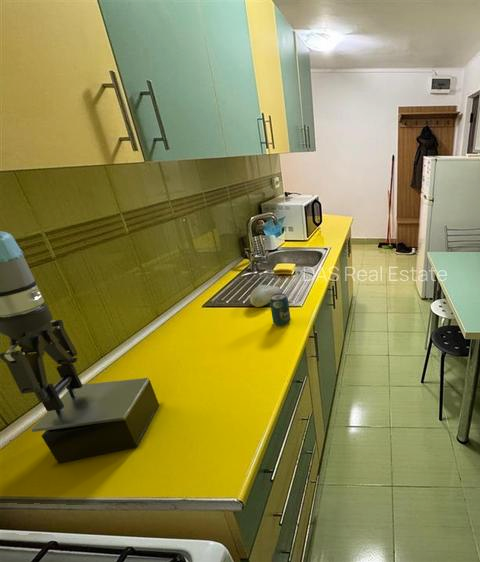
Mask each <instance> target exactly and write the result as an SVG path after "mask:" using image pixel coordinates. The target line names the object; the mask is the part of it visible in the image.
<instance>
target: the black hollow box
mask: <svg viewBox="0 0 480 562" xmlns="http://www.w3.org/2000/svg"><path fill="white" fill-rule="evenodd" d="M159 407H160V403H159V400H158V398H157V395H156V393H155V390H154V387H153V385H152V382H151V380H150V379H149V382H148V383H147V385H146V387H145V388H144V390H143V391H142V393H141V395H140V396H139V398H138V399H137V401H136V403H135V404H134V406H133V407H132V409H131V411H130V412H129V414H128V415H127V417H126V419H125V420H120V421H113V422H105V423H98V424H90V425H82V426H75V427H67V428H59V429H52V430H44V432H43V433H42V434H40V435H41V438H42V440H43V441H44V443H45V445H46V446H47V448H48V449H49V451H50V453H51V454H52V456H53V458H54V459H55V461H56V462H57V464H64V463H69V462H75V461H79V460H84V459H88V458H93V457H99V456H104V455H108V454H112V453H118V452H123V451H128V450H133V449H137V448H138V447H139V446H140V444H141V442H142V440H143V438H144V436H145V434H146V432H147V430H148V428H149V426H150V424H151V423H152V421H153V418H154V417H155V415H156V413H157V411H158V409H159Z"/></svg>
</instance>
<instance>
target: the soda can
mask: <svg viewBox="0 0 480 562" xmlns="http://www.w3.org/2000/svg"><path fill="white" fill-rule="evenodd" d="M269 306H270V312H271V318H272V322H273V324H274V325H275V326H276V327H285V326H287V325H289V324H290V322H291V319H292V318H291V313H290V304H289V298H288V297H287V294H285V293H282V292H279V294H275V295H272V296H271V300H270V303H269Z"/></svg>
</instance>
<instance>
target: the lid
mask: <svg viewBox="0 0 480 562" xmlns="http://www.w3.org/2000/svg"><path fill="white" fill-rule="evenodd" d="M73 380H74V378H73V376H71V375H65V376H63V377H62V378H61V377H60V379H59V380H58V381H57V382H56V383H55V384H53V386H54V388H55V390H56V392H57V394H58V396H59V395H60V394H61V393H63V392H64V390H66V389H67V388H68V390H67V391H66V392H64V394H63V395H62V396H61V397H60V399H61V401H62V403H63V405H64V407H63V408H62V409H59V410H53V411H46V413H45V414H44V415H43V416H42V417H41V419H40V420H39V421H37V422H36V424H34V426H33V427H32V428H31V432H32V433H36V432H43V431H44V432H45V431H46V430H52V429H59V428H67V427H75V426H82V425H90V424H98V423H105V422H113V421H120V420H125V419H126V417H127V415H128V414H129V412H130V411H131V409H132V407H133V406H134V404H135V403H136V401H137V399H138V398H139V396H140V395H141V393H142V391H143V390H144V388H145V387H146V385H147V383H148V382H149V380H150V378H149V377H143V378H132V379H124V380H113V381H103V382H95V383H82V385H83V386H82V387H81V388H77V389H74V388H73V386H72V383H71V382H72V381H73ZM66 387H67V388H66Z"/></svg>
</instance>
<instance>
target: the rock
mask: <svg viewBox="0 0 480 562" xmlns="http://www.w3.org/2000/svg"><path fill="white" fill-rule="evenodd" d="M281 290H282V289H281V288H280V286H276V285H270V284H261V285H257V286H256V287H255V288H253V290H252V291H251V292H250V294H249V302H250V304H251V305H252V306H253V307H256V308H260V307H264V306H267V305H268V304H270V300H271V296H272V295H275V294H280V293H281Z"/></svg>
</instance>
